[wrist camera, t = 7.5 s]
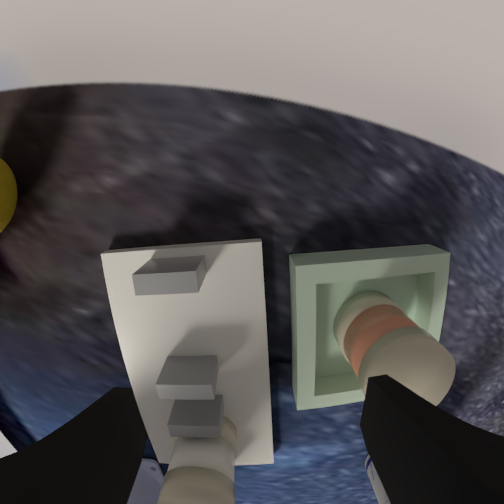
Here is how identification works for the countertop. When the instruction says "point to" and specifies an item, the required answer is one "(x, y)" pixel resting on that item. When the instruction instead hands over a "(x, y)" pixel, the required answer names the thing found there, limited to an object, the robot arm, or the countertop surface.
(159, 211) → the countertop surface
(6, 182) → the lemon
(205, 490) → the cylinder
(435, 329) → the parts tray
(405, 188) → the countertop surface
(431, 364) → the marked fuse
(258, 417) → the block
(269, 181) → the countertop surface
